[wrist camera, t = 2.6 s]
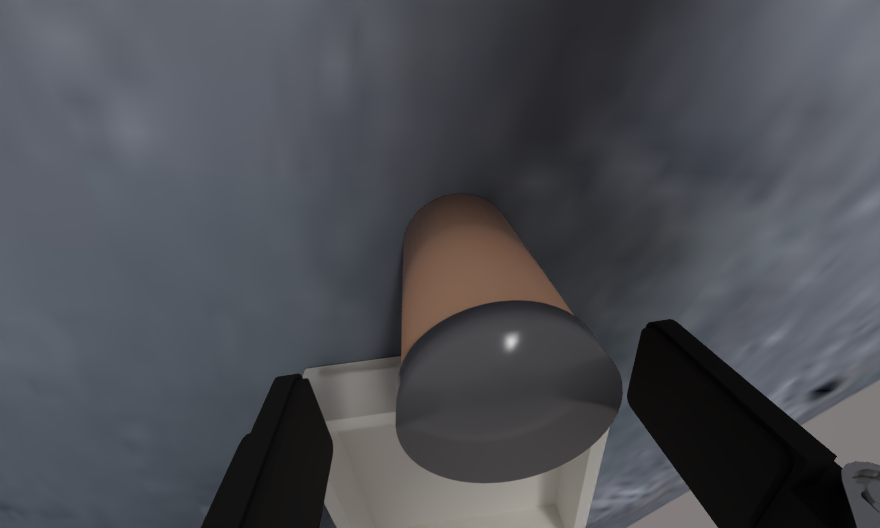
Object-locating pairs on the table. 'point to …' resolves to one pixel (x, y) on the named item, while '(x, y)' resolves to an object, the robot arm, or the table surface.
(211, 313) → the table surface
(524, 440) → the cylinder
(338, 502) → the tray
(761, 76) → the table surface
